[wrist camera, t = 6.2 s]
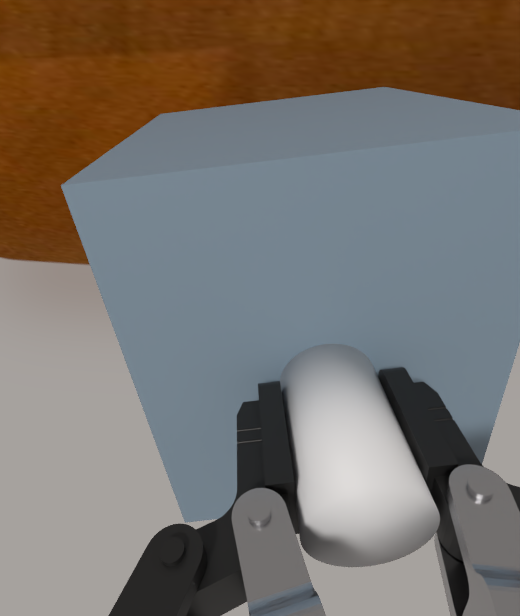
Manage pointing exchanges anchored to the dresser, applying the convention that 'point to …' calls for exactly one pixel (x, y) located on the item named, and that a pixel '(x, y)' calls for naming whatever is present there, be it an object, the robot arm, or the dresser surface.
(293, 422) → the block with white knob
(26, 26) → the dresser surface
